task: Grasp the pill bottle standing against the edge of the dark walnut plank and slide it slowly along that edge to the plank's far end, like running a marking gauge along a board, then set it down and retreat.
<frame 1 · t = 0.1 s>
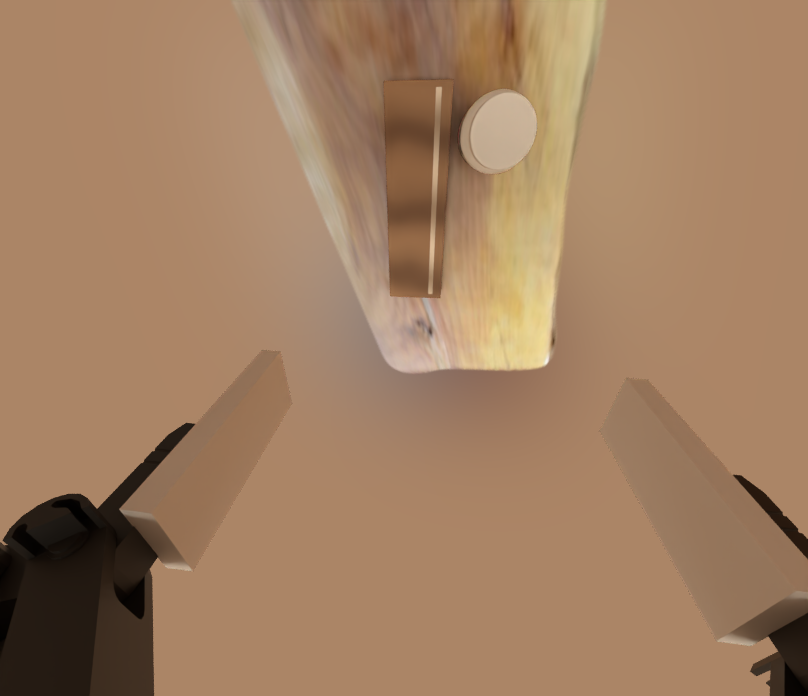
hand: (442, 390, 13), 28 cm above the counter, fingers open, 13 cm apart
pill bottle: (486, 136, 31), on the counter
plank: (417, 202, 35), on the counter
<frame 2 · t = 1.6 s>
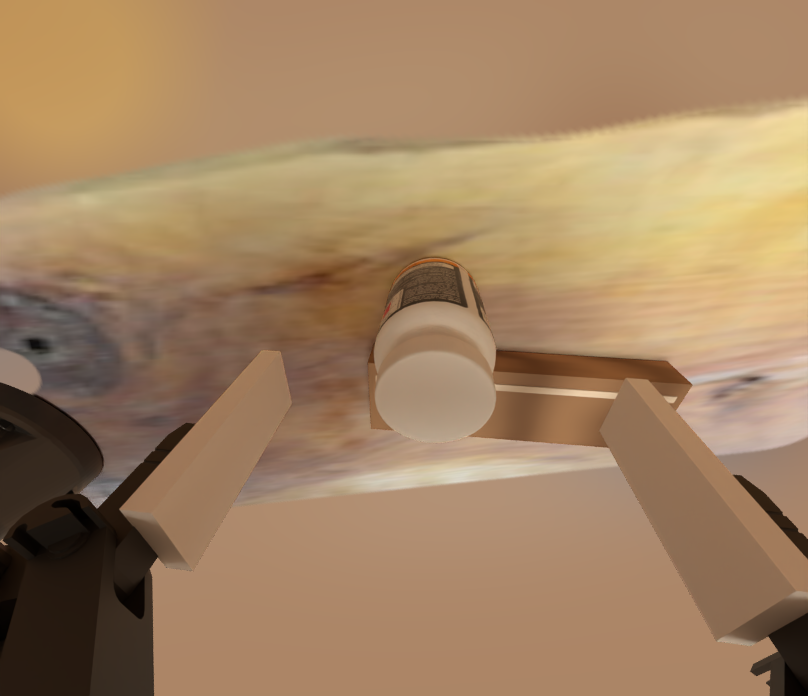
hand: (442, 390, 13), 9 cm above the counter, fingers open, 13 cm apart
pill bottle: (434, 297, 21), on the counter
plank: (508, 385, 24), on the counter
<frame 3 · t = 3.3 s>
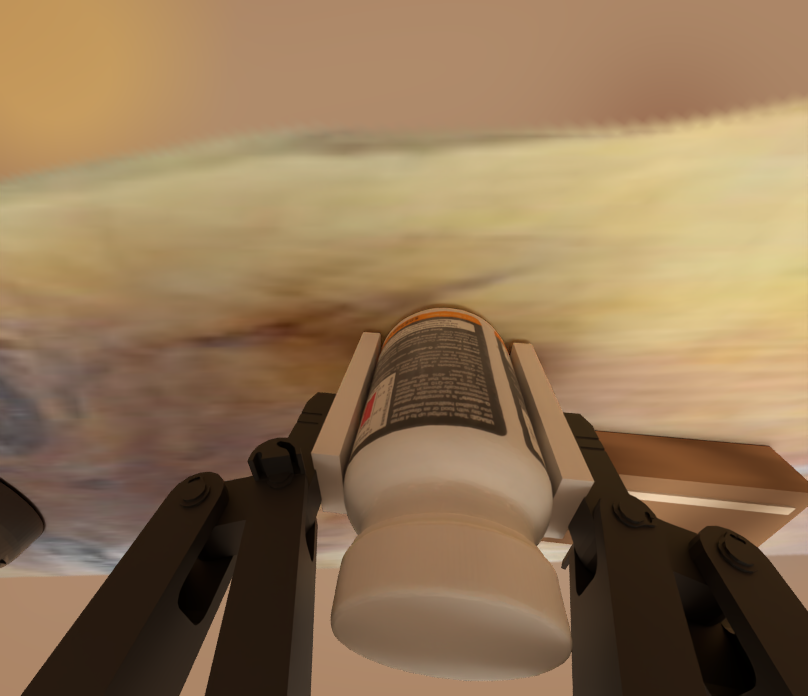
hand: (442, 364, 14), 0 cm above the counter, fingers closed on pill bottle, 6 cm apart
pill bottle: (443, 357, 15), on the counter, touching gripper
plank: (540, 465, 18), on the counter
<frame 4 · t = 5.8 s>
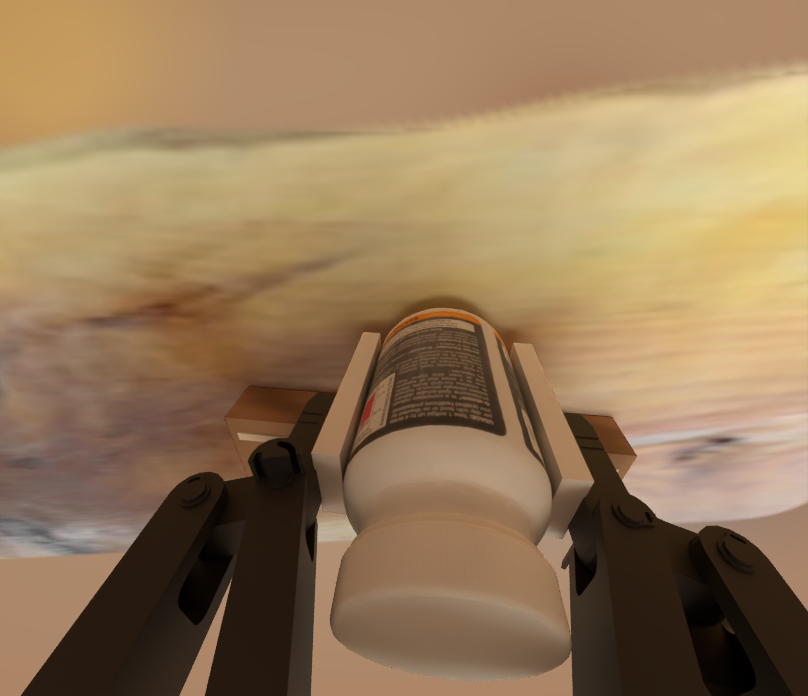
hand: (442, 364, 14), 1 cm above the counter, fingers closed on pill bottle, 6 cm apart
pill bottle: (443, 356, 15), point 1 cm above the counter, touching gripper
plank: (420, 438, 19), on the counter
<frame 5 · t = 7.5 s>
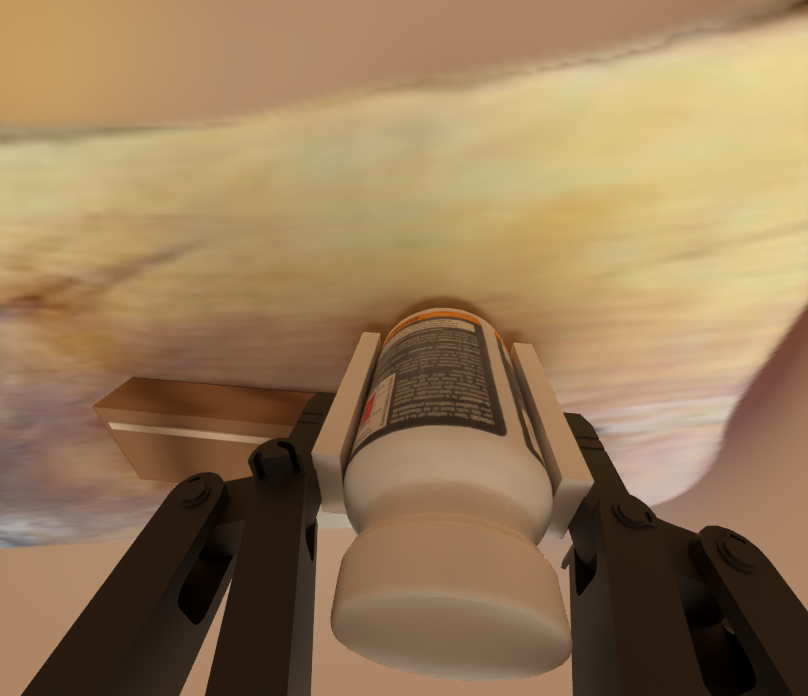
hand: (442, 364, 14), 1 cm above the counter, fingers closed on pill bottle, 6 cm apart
pill bottle: (443, 357, 15), point 1 cm above the counter, touching gripper
plank: (304, 429, 19), on the counter
when the fingers open (1 cm above the counter, at t = 8.6 s): pill bottle stays where it is, on the counter.
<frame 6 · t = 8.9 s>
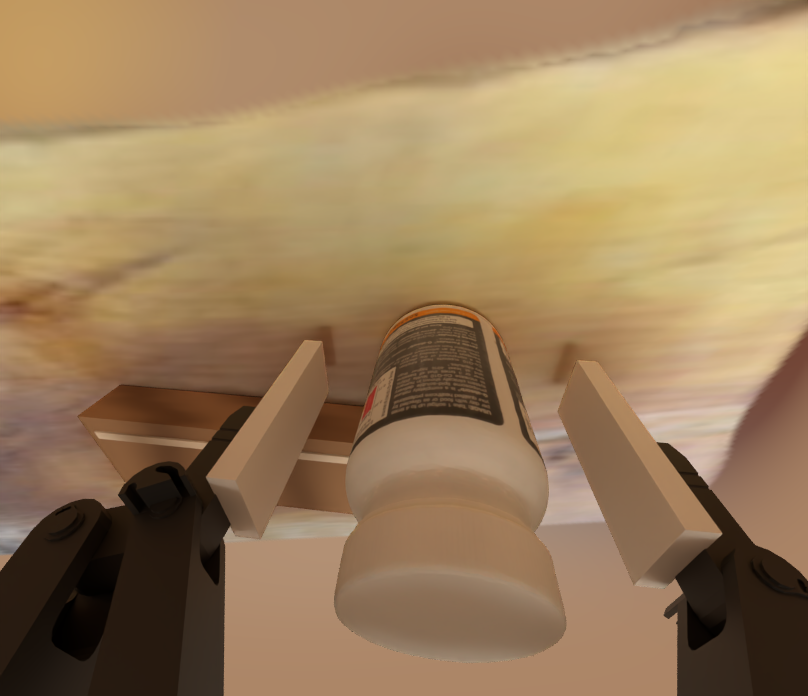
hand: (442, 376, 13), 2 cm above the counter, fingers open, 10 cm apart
pill bottle: (442, 353, 15), on the counter
plank: (298, 438, 19), on the counter
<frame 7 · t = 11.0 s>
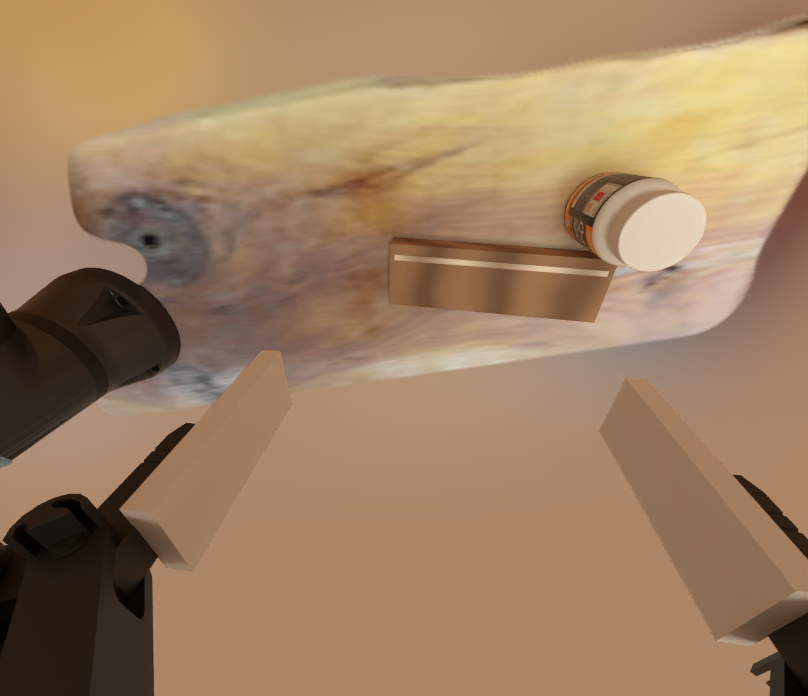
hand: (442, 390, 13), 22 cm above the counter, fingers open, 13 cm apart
pill bottle: (597, 208, 28), on the counter
plank: (491, 275, 32), on the counter
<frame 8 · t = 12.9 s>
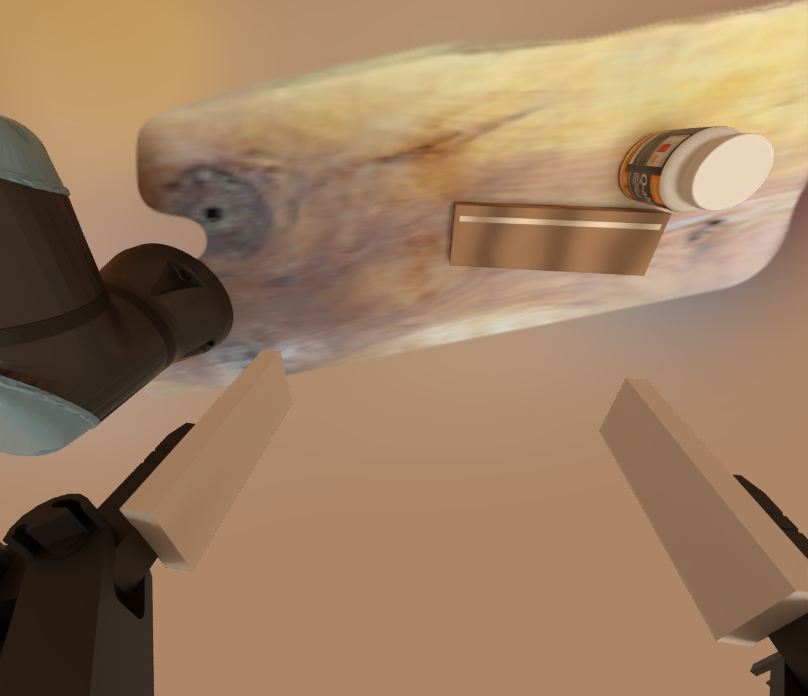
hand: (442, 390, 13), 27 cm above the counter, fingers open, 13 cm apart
pill bottle: (649, 167, 30), on the counter
plank: (545, 235, 34), on the counter
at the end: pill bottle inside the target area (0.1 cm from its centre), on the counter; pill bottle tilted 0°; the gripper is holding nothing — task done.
